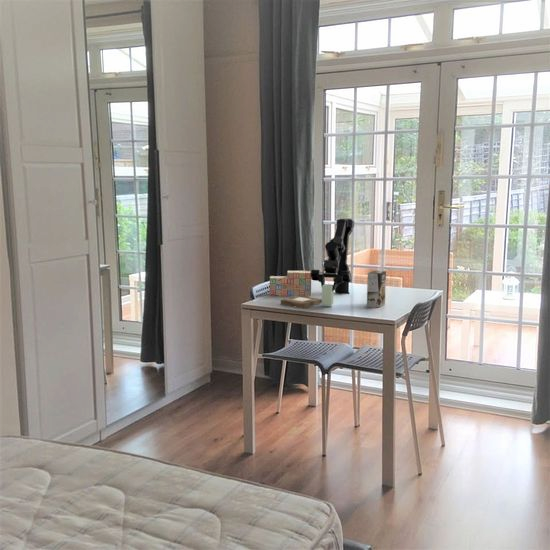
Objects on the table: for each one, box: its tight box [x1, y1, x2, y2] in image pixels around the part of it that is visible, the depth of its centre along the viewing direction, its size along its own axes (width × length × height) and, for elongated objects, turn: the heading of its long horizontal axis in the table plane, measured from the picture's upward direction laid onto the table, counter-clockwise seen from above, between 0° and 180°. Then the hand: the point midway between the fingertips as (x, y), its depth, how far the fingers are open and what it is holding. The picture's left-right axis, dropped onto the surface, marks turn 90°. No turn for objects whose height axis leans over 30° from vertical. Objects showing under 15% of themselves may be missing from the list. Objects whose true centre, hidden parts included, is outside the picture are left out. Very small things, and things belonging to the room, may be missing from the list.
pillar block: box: [321, 283, 335, 306], centre depth 287 cm, size 4×4×9 cm
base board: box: [280, 296, 322, 309], centre depth 294 cm, size 14×14×2 cm
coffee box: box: [366, 270, 387, 309], centre depth 288 cm, size 9×6×16 cm
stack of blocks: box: [269, 270, 312, 297], centre depth 315 cm, size 21×6×12 cm, turn 86°
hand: (327, 290), depth 286 cm, fingers closed on pillar block, 4 cm apart
